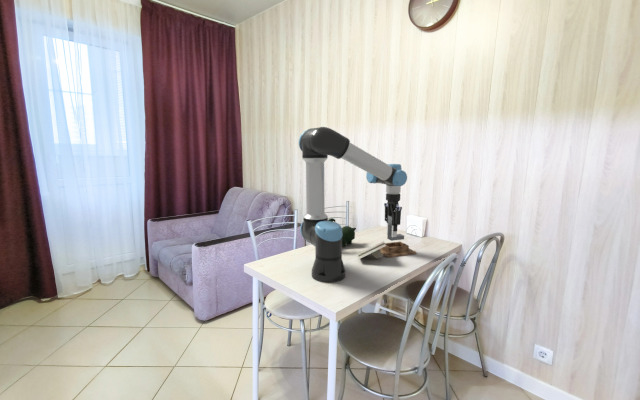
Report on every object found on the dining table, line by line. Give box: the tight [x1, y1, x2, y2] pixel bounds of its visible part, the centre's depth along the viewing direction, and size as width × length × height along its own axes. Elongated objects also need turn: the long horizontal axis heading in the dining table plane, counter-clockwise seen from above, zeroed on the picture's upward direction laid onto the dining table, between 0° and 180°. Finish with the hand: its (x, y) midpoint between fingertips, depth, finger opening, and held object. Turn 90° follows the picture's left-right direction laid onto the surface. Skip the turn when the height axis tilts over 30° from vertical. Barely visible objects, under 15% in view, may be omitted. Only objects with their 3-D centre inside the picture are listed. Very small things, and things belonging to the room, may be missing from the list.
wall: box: [357, 241, 386, 260], centre depth 153 cm, size 16×9×15 cm
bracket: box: [386, 215, 405, 242], centre depth 162 cm, size 8×4×13 cm, turn 109°
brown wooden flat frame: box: [380, 241, 417, 259], centre depth 164 cm, size 18×14×4 cm
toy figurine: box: [328, 217, 357, 247], centre depth 173 cm, size 9×19×25 cm
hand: (391, 235), depth 162 cm, fingers closed on bracket, 4 cm apart
